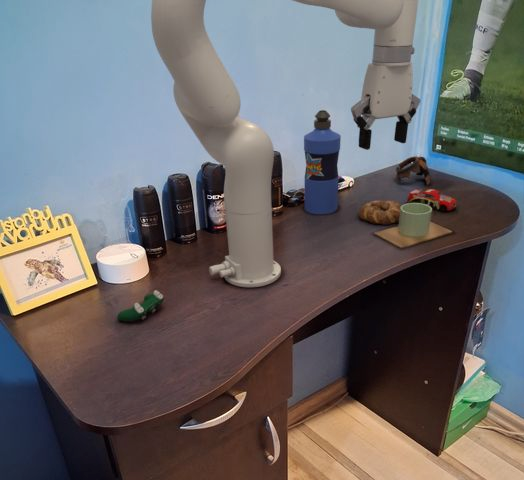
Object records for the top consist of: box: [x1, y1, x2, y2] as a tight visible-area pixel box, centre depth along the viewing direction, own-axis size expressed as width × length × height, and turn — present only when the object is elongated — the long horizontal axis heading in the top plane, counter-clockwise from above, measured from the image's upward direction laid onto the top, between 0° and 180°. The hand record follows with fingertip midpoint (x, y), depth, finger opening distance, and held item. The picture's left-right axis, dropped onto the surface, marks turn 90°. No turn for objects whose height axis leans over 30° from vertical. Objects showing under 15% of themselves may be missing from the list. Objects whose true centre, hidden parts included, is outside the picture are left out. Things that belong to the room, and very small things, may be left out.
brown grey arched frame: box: [395, 155, 431, 186], centre depth 162 cm, size 12×10×8 cm
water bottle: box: [303, 109, 342, 215], centre depth 142 cm, size 9×9×25 cm
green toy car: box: [117, 289, 165, 322], centre depth 107 cm, size 9×4×6 cm
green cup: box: [397, 202, 433, 238], centre depth 131 cm, size 7×7×6 cm
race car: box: [407, 188, 458, 213], centre depth 146 cm, size 13×5×4 cm, turn 50°
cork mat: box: [373, 221, 453, 249], centre depth 133 cm, size 16×10×1 cm, turn 119°
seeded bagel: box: [358, 199, 402, 226], centre depth 141 cm, size 12×11×4 cm
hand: (382, 145), depth 117 cm, fingers open, 9 cm apart
